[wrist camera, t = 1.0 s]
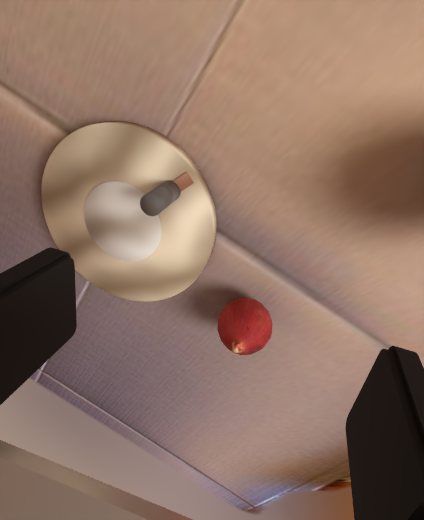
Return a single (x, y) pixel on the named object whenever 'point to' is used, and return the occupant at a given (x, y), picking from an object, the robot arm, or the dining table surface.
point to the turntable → (129, 210)
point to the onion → (244, 326)
